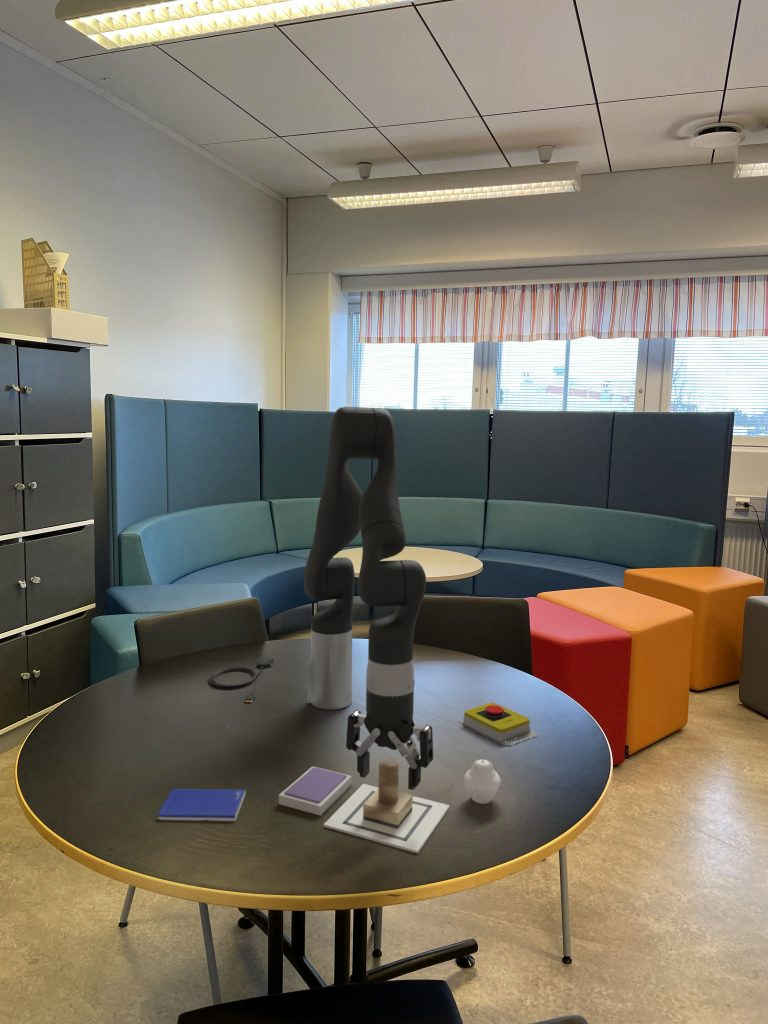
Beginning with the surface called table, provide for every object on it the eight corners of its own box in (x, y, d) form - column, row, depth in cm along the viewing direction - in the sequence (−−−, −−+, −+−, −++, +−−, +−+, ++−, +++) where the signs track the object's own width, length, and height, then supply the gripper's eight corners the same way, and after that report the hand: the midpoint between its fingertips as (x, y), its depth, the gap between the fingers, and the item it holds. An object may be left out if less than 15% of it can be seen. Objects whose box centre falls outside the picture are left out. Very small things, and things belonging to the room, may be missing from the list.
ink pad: (278, 804, 118) (278, 793, 118) (312, 774, 128) (312, 764, 127) (320, 815, 114) (320, 804, 114) (351, 784, 124) (351, 774, 124)
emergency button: (488, 694, 157) (540, 717, 145) (487, 713, 157) (539, 737, 145) (457, 703, 151) (508, 728, 139) (456, 723, 152) (508, 749, 140)
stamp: (363, 819, 113) (363, 768, 112) (379, 801, 118) (379, 752, 117) (397, 828, 110) (398, 776, 109) (412, 810, 116) (413, 760, 115)
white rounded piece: (485, 813, 116) (487, 772, 115) (456, 799, 120) (457, 760, 119) (507, 798, 120) (508, 760, 120) (477, 785, 125) (478, 748, 124)
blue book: (245, 788, 121) (173, 787, 121) (235, 814, 113) (157, 814, 113) (245, 797, 121) (173, 796, 121) (235, 824, 113) (157, 823, 113)
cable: (192, 704, 160) (192, 698, 160) (224, 662, 188) (223, 656, 188) (252, 705, 160) (252, 699, 159) (274, 663, 188) (274, 657, 187)
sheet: (323, 826, 111) (323, 823, 111) (363, 785, 124) (363, 783, 124) (417, 853, 105) (418, 850, 105) (449, 807, 117) (449, 804, 117)
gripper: (339, 685, 111) (338, 782, 113) (423, 701, 105) (420, 803, 107) (360, 670, 118) (359, 761, 120) (440, 684, 112) (438, 781, 114)
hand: (388, 781), depth 114 cm, fingers open, 8 cm apart
